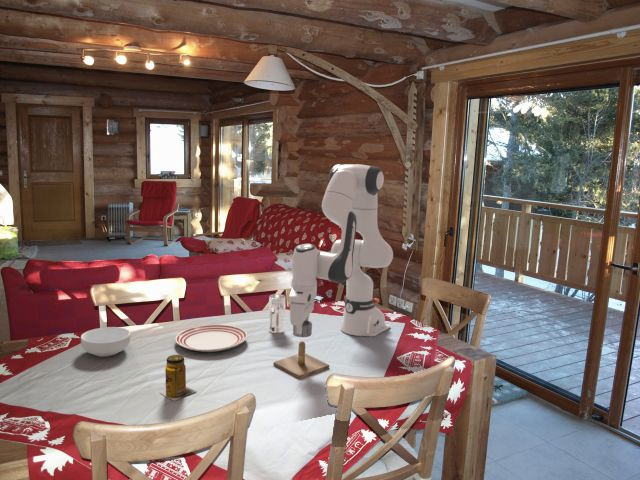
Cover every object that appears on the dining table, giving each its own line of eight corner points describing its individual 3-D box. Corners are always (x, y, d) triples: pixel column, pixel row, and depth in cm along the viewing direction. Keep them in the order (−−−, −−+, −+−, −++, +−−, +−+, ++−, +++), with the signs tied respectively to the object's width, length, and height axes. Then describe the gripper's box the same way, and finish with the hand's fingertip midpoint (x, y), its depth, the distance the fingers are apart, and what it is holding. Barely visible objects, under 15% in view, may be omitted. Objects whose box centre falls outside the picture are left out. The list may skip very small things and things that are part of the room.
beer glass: (282, 334, 221) (283, 299, 218) (265, 332, 222) (266, 297, 219) (286, 329, 228) (287, 294, 225) (270, 327, 229) (271, 293, 226)
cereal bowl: (139, 353, 197) (138, 335, 196) (94, 366, 185) (93, 346, 184) (117, 340, 208) (116, 322, 207) (73, 351, 196) (72, 333, 195)
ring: (303, 329, 193) (303, 318, 193) (315, 334, 189) (315, 323, 188) (289, 333, 189) (289, 322, 188) (301, 338, 184) (301, 327, 184)
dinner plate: (160, 349, 202) (160, 340, 202) (202, 326, 227) (202, 319, 227) (223, 363, 192) (223, 354, 192) (259, 337, 217) (260, 330, 217)
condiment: (160, 393, 168) (159, 357, 166) (182, 384, 174) (182, 349, 172) (173, 401, 163) (173, 364, 161) (196, 392, 170) (196, 356, 167)
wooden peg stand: (303, 355, 201) (303, 331, 199) (329, 368, 191) (330, 343, 189) (273, 365, 192) (274, 340, 190) (299, 378, 182) (300, 352, 180)
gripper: (302, 283, 197) (300, 319, 199) (287, 298, 177) (285, 338, 180) (319, 284, 195) (317, 321, 198) (305, 300, 176) (304, 340, 178)
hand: (302, 329), depth 189 cm, fingers closed on ring, 6 cm apart
